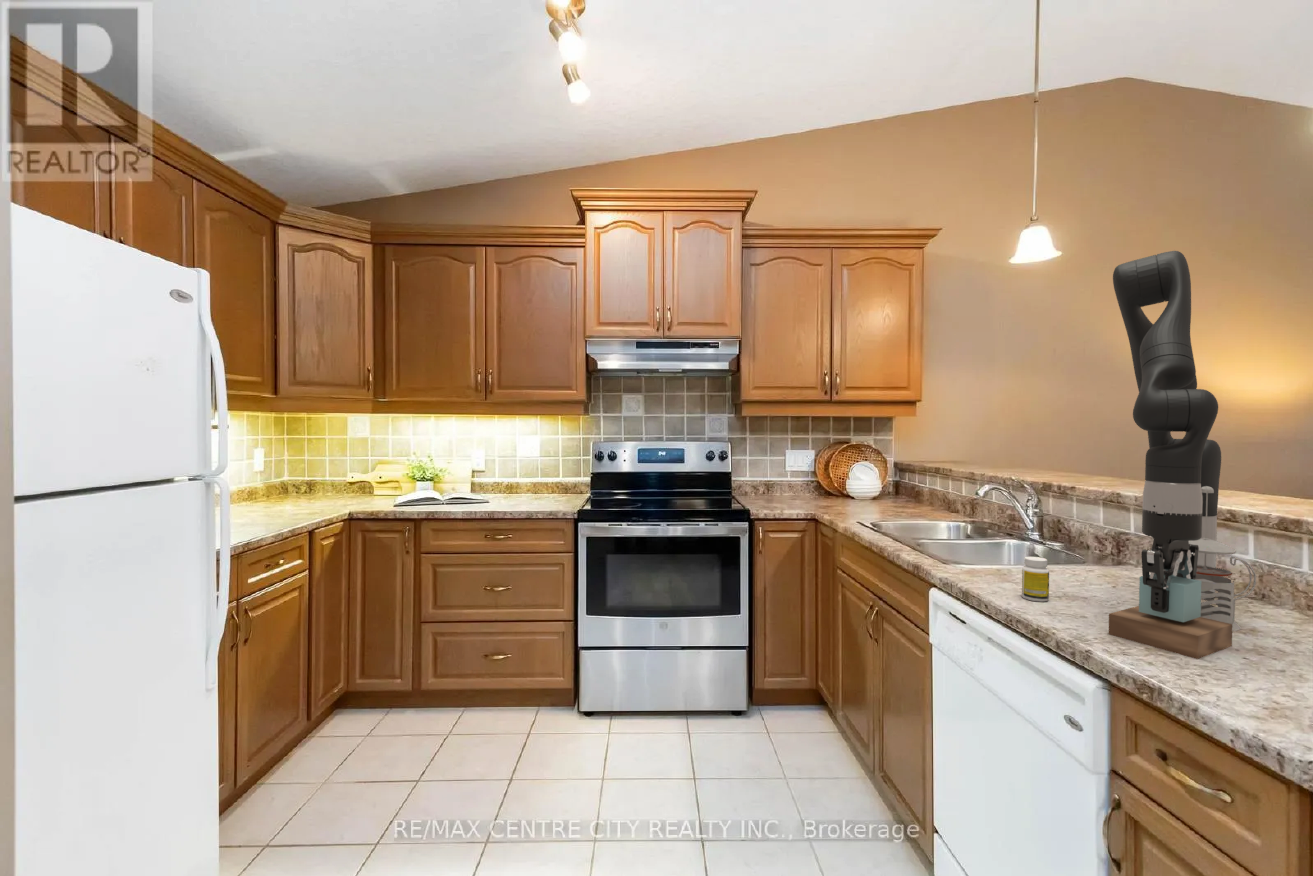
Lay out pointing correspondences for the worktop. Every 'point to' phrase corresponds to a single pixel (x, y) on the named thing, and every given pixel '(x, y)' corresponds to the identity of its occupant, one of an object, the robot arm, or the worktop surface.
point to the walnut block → (1171, 632)
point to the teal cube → (1175, 599)
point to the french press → (1218, 579)
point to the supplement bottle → (1035, 579)
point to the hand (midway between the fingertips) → (1169, 608)
